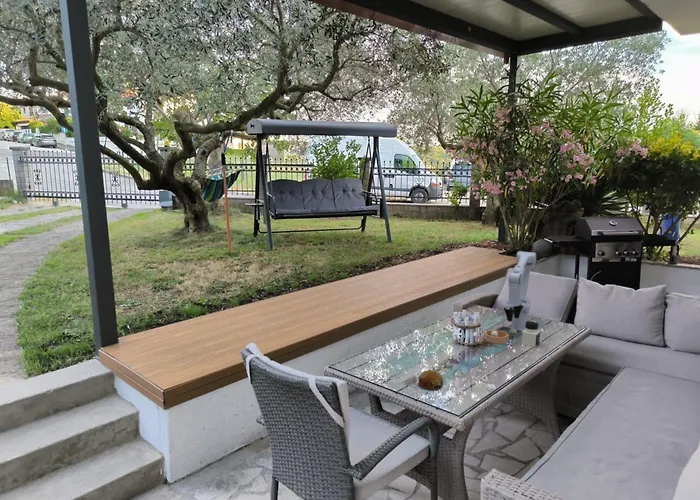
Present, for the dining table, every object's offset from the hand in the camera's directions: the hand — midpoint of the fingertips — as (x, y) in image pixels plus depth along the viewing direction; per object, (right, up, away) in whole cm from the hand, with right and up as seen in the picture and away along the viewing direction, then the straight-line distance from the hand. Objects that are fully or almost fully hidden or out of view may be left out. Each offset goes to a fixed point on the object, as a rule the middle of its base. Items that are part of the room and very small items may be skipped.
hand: (512, 319), depth 254 cm
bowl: (-11, -10, -5) cm, 15 cm away
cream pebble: (-11, -9, -3) cm, 15 cm away
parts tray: (-2, -9, +4) cm, 10 cm away
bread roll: (-54, -19, -58) cm, 81 cm away
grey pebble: (0, -9, +2) cm, 9 cm away
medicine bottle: (+6, -11, -10) cm, 16 cm away
